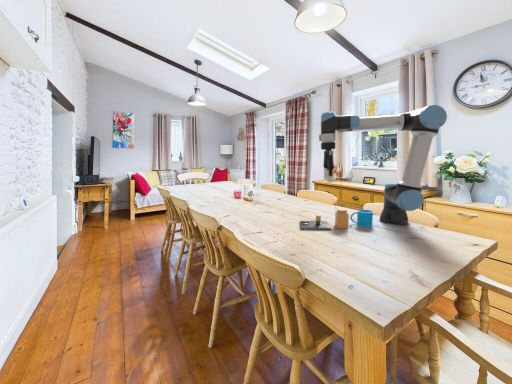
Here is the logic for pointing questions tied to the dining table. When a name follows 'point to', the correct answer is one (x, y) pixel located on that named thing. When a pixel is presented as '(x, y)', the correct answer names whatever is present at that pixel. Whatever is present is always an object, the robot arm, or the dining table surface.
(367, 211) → the mug
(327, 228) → the plate
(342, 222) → the brown rectangular block
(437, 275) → the dining table surface
